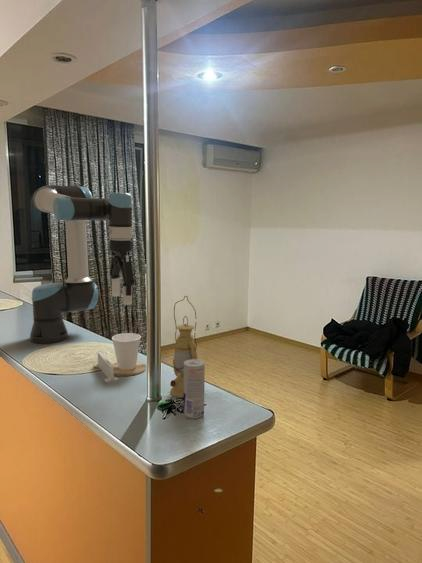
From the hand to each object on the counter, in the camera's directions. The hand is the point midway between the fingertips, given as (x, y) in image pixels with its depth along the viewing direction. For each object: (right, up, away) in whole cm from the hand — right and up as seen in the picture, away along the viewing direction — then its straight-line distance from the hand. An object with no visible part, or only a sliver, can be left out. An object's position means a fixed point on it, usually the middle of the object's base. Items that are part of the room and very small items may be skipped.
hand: (121, 300), depth 142 cm
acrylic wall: (-5, -24, -3) cm, 25 cm away
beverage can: (+26, -30, -31) cm, 51 cm away
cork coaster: (+2, -24, 0) cm, 24 cm away
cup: (+2, -24, 0) cm, 24 cm away
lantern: (+23, -27, -17) cm, 40 cm away
